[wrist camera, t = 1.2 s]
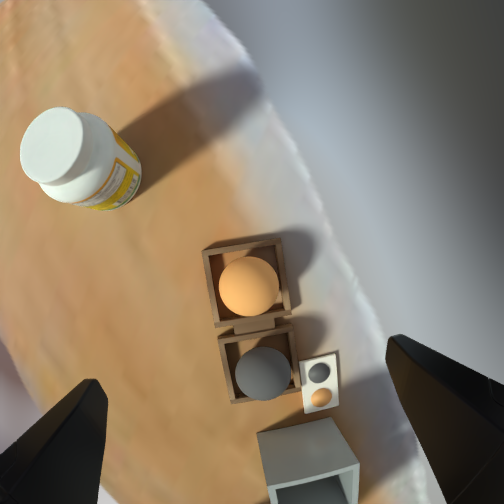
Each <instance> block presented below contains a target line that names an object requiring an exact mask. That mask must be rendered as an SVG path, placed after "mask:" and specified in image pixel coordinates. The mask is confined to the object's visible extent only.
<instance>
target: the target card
mask: <svg viewBox="0 0 504 504" xmlns="http://www.w3.org/2000/svg"><path fill="white" fill-rule="evenodd" d="M299 370H300V378H301V387H302V395H303V404H304V412H305V414H308V413H312V412H316V411H320V410H324V409H328V408H331V407H335V406H339V398H338V382H337V368H336V355H335V354H334V353H333V354H329V355H325V356H321V357H317V358H312V359H308V360H303V361H299Z"/></svg>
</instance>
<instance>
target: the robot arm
mask: <svg viewBox="0 0 504 504" xmlns="http://www.w3.org/2000/svg"><path fill="white" fill-rule="evenodd" d="M385 360H386V364H387V367H388V370H389V372H390V375H391V378H392V380H393V383H394V386H395V389H396V392H397V394H398V397H399V400H400V402H401V405H402V407H403V409H404V411H405V413H406V415H407V417H408V419H409V421H410V423H411V425H412V427H413V429H414V431H415V434H416V436H417V438H418V440H419V442H420V444H421V446H422V448H423V450H424V453H425V455H426V457H427V459H428V461H429V464H430V466H431V468H432V470H433V473H434V475H435V477H436V479H437V482H438V484H439V486H440V488H441V491H442V493H443V496H444V498H445V500H446V503H447V504H504V385H503V384H500V383H498V382H496V381H495V380H493V379H490V378H489V379H488V377H486V376H484V375H482V374H480V373H478V372H476V371H474V370H472V369H470V368H468V367H466V366H464V365H462V364H460V363H458V362H456V361H454V360H452V359H450V358H449V357H446V356H445V355H443V354H441V353H439V352H437V351H435V350H432V349H431V348H429V347H427V346H425V345H423V344H421V343H419V342H417V341H415V340H413V339H411V338H409V337H407V336H405V335H403V334H398V335H394V336H391V337H390V338H389V339H388V343H387V350H386V357H385ZM107 412H108V398H107V396H106V394H105V392H104V390H103V389H102V387H101V385H100V383H99V382H98V380H96V379H84V380H83V381H82V382H80V383H79V384H78V385H77V386H76V387H75V388H74V389H73V390H72V391H70V392H69V393H68V394H67V395H66V396H65V397H64V398H63V399H61V400H60V401H59V402H58V403H57V404H56V405H55V406H54V407H53V408H51V409H50V410H49V411H48V412H47V413H46V414H45V415H44V416H43V417H41V418H40V419H39V420H38V421H37V422H36V423H35V424H34V425H33V426H31V427H30V428H29V429H28V430H27V431H26V432H25V433H24V434H23V435H22V436H21V437H19V439H17V441H16V442H14V443H13V444H12V445H11V446H10V447H8V448H7V449H6V450H5V451H4V452H3V453H2V454H0V504H97V501H98V492H99V484H100V476H101V469H102V462H103V455H104V449H105V442H106V426H107Z"/></svg>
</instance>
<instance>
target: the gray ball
mask: <svg viewBox="0 0 504 504" xmlns="http://www.w3.org/2000/svg"><path fill="white" fill-rule="evenodd" d="M235 377H236V381H237V384H238V386H239V388H240V389H241V391H242V392H243V393H244V394H245V395H247V396H248V397H250V398H252V399H255V400H261V401H265V400H271V399H274V398H276V397H278V396H279V395H281V394H282V393H283V392H284V391H285V390H286V388H287V387H288V385H289V383H290V379H291V367H290V364H289V362H288V360H287V359H286V357H285V356H284V355H283V354H282V353H281V352H279V351H278V350H276V349H274V348H270V347H257V348H253V349H251V350H249V351H247V352H246V353H245V354H244V355H243V356H242V357H241V358H240V360H239V361H238V363H237V366H236V371H235Z"/></svg>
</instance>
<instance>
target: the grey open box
mask: <svg viewBox="0 0 504 504" xmlns="http://www.w3.org/2000/svg"><path fill="white" fill-rule="evenodd" d="M257 438H258V443H259V448H260V453H261V458H262V463H263V468H264V473H265V478H266V483H267V488H268V492H269V497H270V501H271V504H358V490H359V468H360V463H359V461H358V459H357V458H356V456H355V455H354V453H353V452H352V450H351V448H350V447H349V445H348V443H347V442H346V440H345V439H344V437H343V435H342V434H341V432H340V431H339V429H338V427H337V426H336V424H335V423H334V421H333V419H332V418H331V417H328V418H324V419H320V420H316V421H312V422H308V423H304V424H300V425H295V426H291V427H286V428H281V429H276V430H271V431H266V432H260V433H257Z"/></svg>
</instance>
